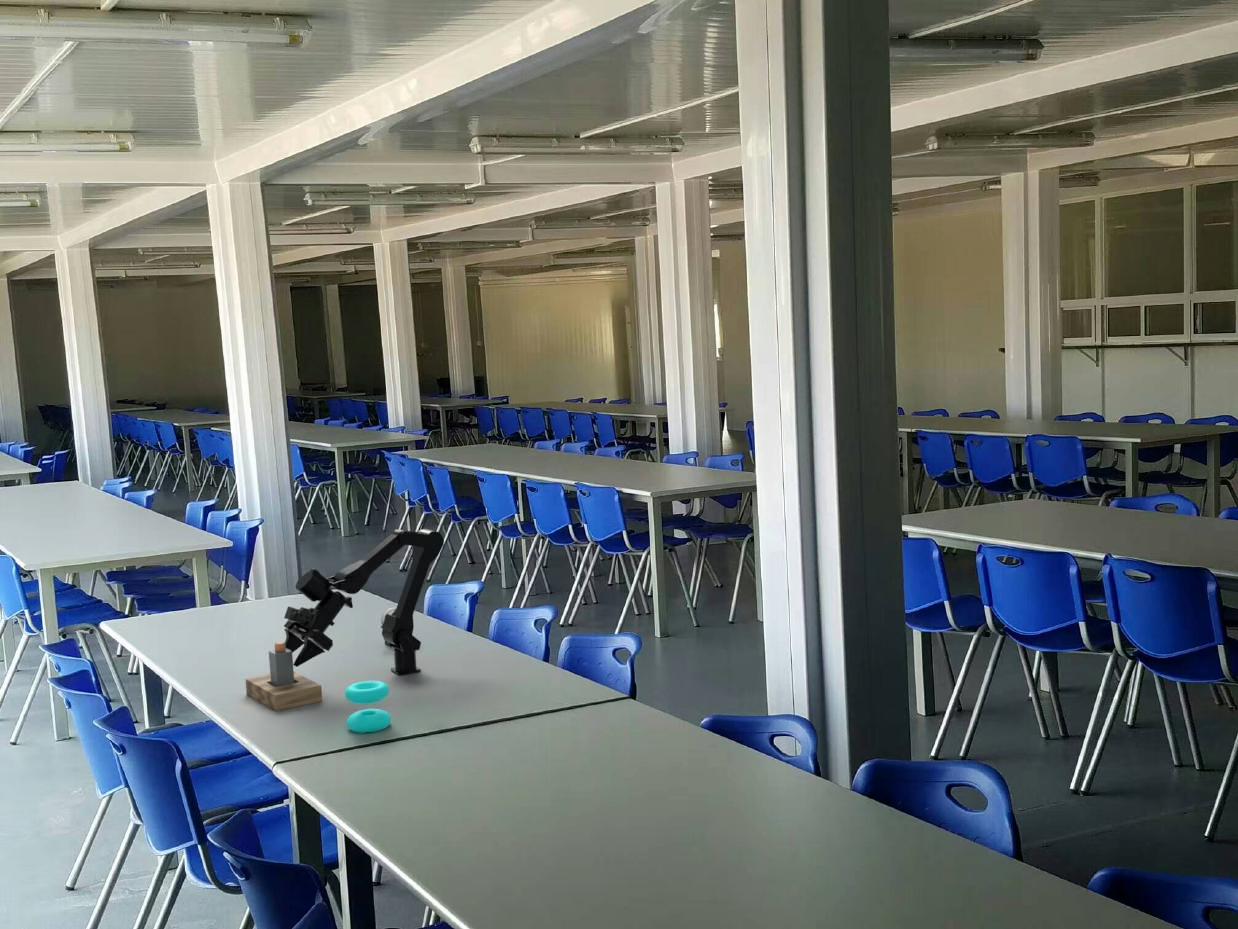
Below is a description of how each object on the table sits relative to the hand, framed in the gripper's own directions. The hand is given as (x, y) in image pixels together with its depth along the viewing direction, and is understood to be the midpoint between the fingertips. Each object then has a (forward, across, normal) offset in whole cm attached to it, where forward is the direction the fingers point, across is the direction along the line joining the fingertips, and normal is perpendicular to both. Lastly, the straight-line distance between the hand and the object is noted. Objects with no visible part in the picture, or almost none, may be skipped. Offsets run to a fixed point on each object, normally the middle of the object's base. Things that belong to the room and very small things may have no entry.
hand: (287, 662), depth 310 cm
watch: (-24, -29, +38) cm, 53 cm away
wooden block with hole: (+7, 0, +5) cm, 9 cm away
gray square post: (+7, 0, +4) cm, 8 cm away
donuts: (+4, +38, +9) cm, 39 cm away
